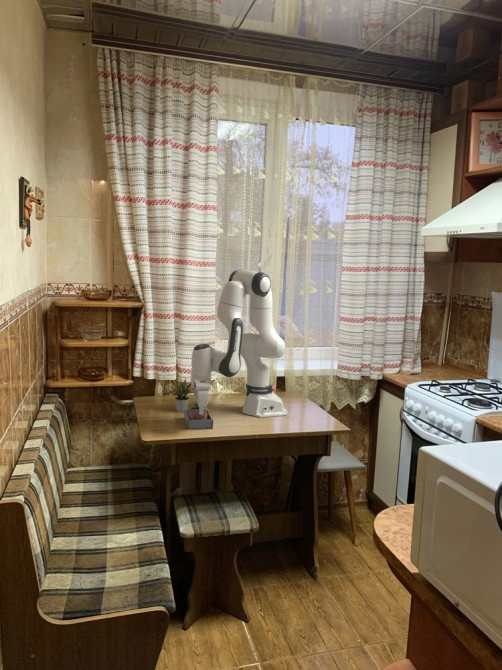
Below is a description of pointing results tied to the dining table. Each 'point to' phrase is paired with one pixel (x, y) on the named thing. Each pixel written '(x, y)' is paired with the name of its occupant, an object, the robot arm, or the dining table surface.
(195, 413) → the red grey packet
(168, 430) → the dining table surface
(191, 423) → the cell holder
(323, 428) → the dining table surface
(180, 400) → the house plant
